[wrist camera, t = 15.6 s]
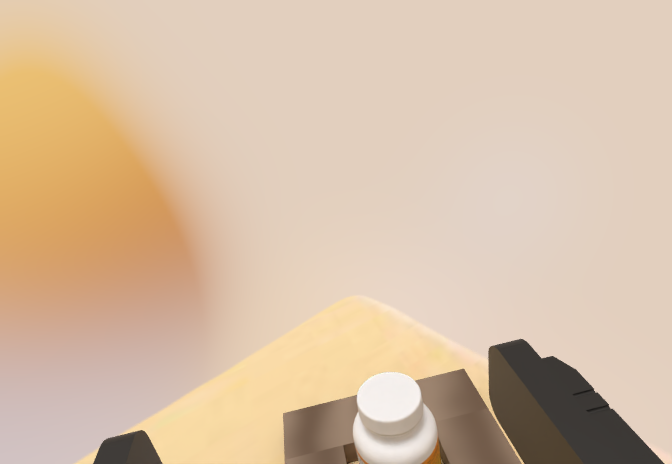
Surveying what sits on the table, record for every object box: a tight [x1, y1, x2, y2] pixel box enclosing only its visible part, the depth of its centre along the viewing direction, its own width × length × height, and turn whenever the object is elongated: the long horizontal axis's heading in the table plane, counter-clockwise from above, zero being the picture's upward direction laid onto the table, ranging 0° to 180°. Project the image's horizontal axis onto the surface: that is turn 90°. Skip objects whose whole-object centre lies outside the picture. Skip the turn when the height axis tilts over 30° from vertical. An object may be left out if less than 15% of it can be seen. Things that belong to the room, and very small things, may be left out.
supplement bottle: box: [353, 372, 441, 464], centre depth 28 cm, size 5×5×10 cm
